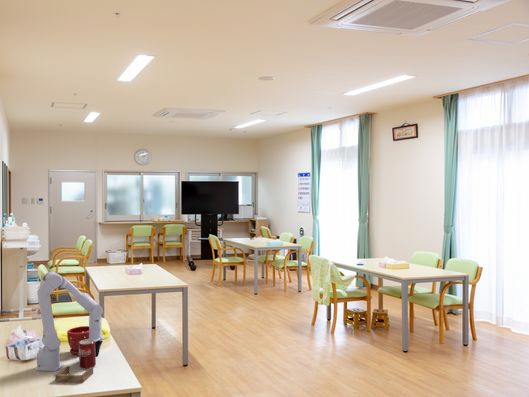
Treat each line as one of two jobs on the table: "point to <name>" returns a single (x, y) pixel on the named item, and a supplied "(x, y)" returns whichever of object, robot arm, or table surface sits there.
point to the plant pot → (77, 337)
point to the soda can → (87, 354)
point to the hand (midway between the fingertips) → (95, 356)
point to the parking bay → (73, 376)
